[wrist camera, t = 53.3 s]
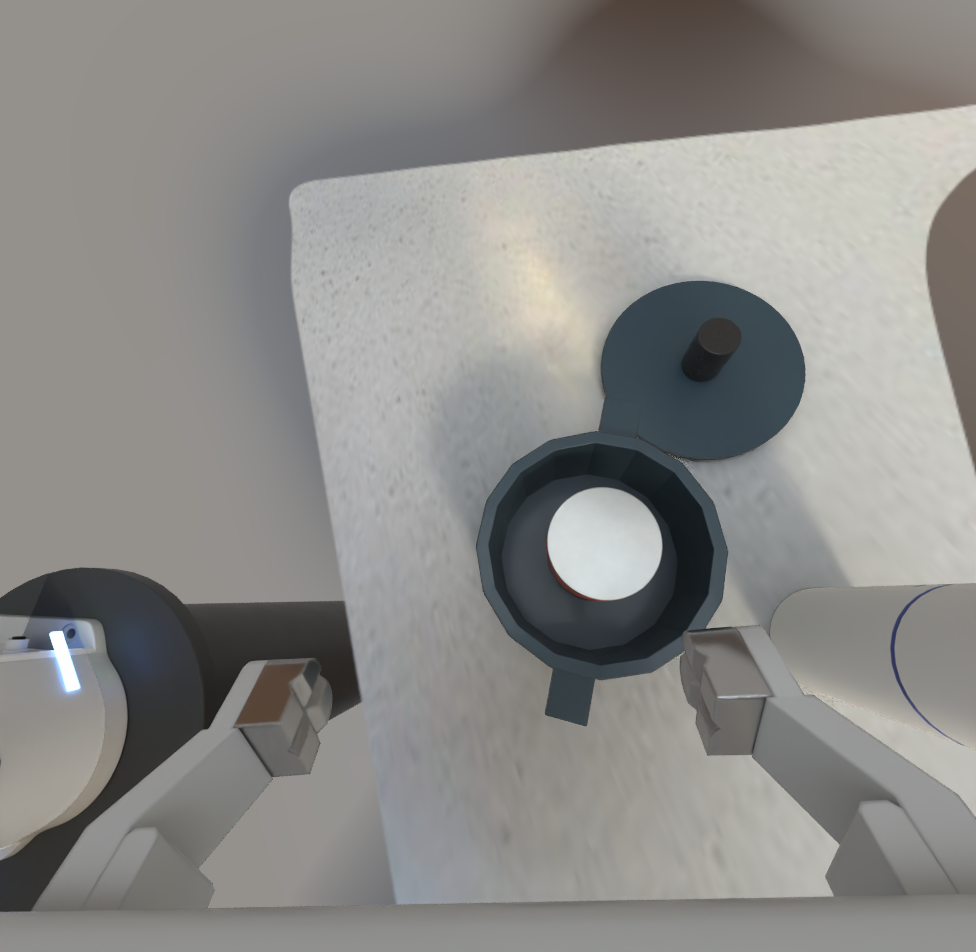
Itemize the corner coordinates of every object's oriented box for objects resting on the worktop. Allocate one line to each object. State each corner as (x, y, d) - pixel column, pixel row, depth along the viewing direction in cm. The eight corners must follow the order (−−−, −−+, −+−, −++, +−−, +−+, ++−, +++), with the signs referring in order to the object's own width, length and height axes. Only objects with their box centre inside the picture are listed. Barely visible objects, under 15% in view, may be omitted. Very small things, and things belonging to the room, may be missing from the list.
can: (538, 587, 36) (534, 585, 28) (556, 503, 38) (558, 475, 29) (627, 610, 35) (653, 614, 26) (643, 522, 36) (672, 499, 28)
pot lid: (585, 442, 39) (590, 418, 34) (616, 278, 42) (626, 232, 37) (789, 479, 36) (831, 458, 31) (806, 300, 40) (846, 254, 34)
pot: (466, 668, 36) (441, 688, 28) (521, 422, 40) (515, 378, 32) (665, 722, 33) (702, 762, 25) (702, 454, 38) (745, 414, 30)
